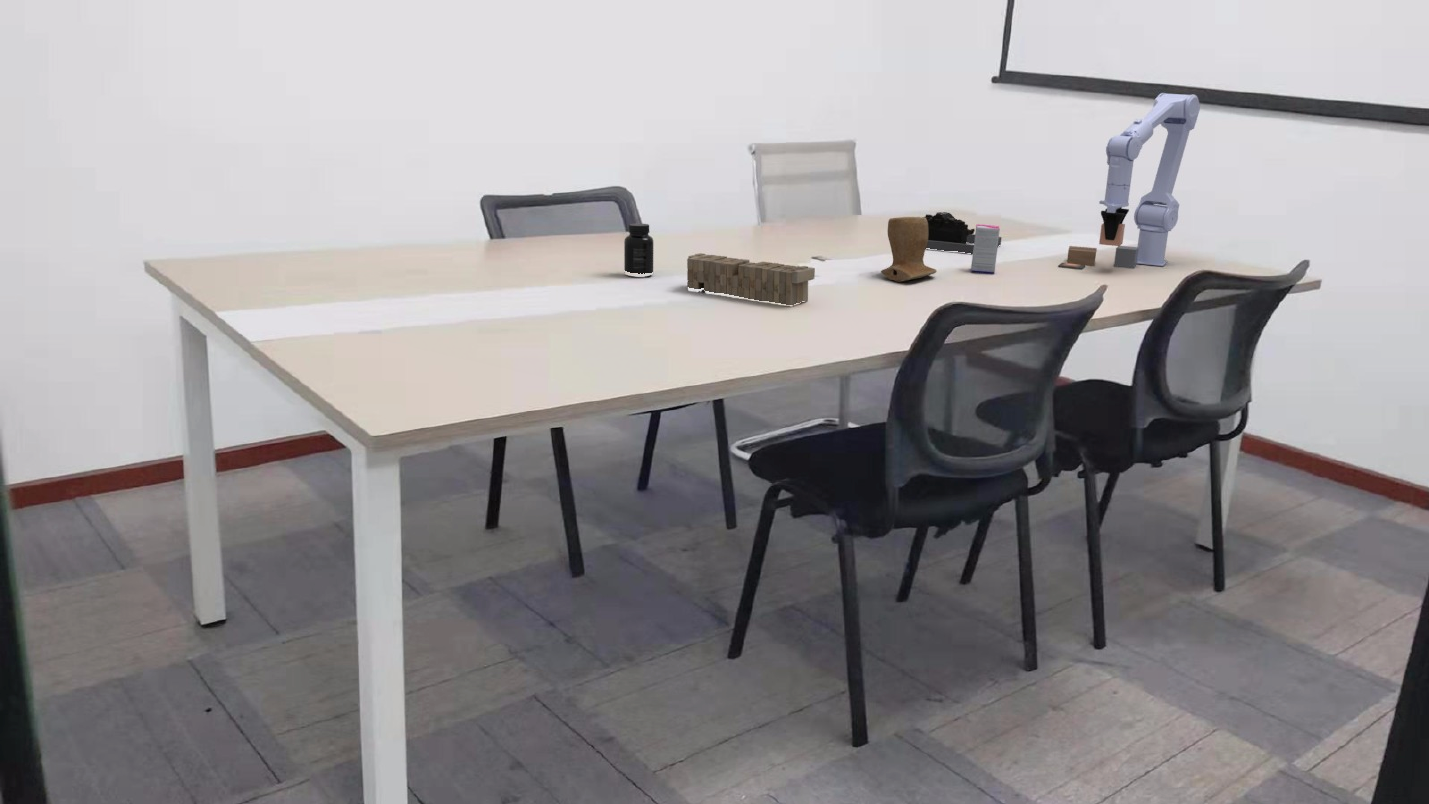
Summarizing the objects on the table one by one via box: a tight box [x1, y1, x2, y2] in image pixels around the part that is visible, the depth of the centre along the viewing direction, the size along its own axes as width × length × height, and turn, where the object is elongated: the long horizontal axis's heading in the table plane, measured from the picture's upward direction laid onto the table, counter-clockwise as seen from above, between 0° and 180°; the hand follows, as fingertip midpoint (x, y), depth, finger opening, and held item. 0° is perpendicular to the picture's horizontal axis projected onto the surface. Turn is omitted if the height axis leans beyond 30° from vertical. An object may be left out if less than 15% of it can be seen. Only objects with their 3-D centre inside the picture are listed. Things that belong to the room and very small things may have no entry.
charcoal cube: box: [1113, 245, 1139, 270], centre depth 307 cm, size 5×5×5 cm
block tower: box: [686, 252, 816, 305], centre depth 255 cm, size 8×8×29 cm
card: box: [1057, 262, 1086, 270], centre depth 304 cm, size 5×6×1 cm
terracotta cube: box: [1098, 222, 1126, 247], centre depth 298 cm, size 5×5×5 cm
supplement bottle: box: [623, 222, 654, 274], centre depth 274 cm, size 7×7×12 cm
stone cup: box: [880, 216, 937, 282], centre depth 281 cm, size 15×12×15 cm
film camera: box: [924, 211, 976, 244], centre depth 328 cm, size 18×12×10 cm
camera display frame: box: [926, 233, 1002, 255], centre depth 330 cm, size 20×24×2 cm
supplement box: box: [970, 223, 1000, 275], centre depth 292 cm, size 6×6×12 cm
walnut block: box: [1066, 245, 1098, 267], centre depth 310 cm, size 7×7×4 cm
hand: (1111, 238), depth 298 cm, fingers closed on terracotta cube, 5 cm apart
